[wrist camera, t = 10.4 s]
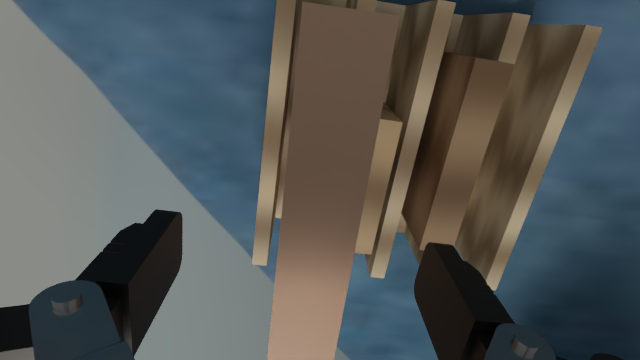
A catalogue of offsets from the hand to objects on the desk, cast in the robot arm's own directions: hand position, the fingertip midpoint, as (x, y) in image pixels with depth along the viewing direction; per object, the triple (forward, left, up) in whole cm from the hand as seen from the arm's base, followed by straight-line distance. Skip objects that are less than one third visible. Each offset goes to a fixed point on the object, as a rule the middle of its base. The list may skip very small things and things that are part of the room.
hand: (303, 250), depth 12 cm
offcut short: (+2, +4, -18) cm, 19 cm away
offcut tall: (-1, +8, -18) cm, 20 cm away
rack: (0, +6, -20) cm, 21 cm away
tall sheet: (0, 0, -18) cm, 18 cm away
